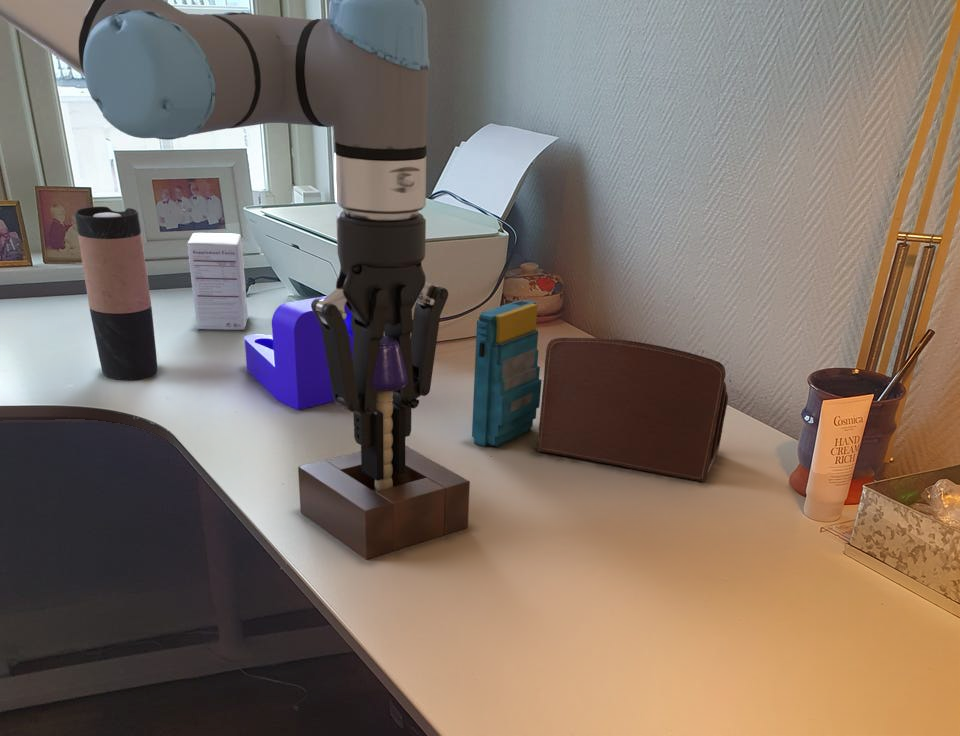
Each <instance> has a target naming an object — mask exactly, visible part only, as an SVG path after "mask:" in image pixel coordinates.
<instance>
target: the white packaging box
mask: <svg viewBox="0 0 960 736" xmlns="http://www.w3.org/2000/svg"><path fill="white" fill-rule="evenodd" d="M187 253H188V260H189V270H190V280H191V289H192V299H193V306H194V307H193V308H194V314H195V323H196V329H198V330H223V331H224V330H225V331H229V330H230V331H243V330H245V329H246V325H247V321H248V317H249V312H248V300H247V291H246V290H247V288H246V279H245V267H244V266H245V265H244V254H243V253H244V252H243V243H242V235H241V233H228V232H227V233H225V232H224V233H223V232H222V233H221V232H214V233H213V232H193V233H192V235H191V236H190V237H189V240H188V241H187Z"/></svg>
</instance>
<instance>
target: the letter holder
mask: <svg viewBox="0 0 960 736" xmlns="http://www.w3.org/2000/svg"><path fill="white" fill-rule="evenodd" d="M725 381H726V369H725V366H724V364H723V363H721V362H720V361H717V360H715V359H712V358H708V357H706V356H703V355H699V354H697V353H692V352H688V351H684V350H680V349H677V348H672V347H666V346H661V345H657V344H652V343H646V342H641V341H636V340H635V341H633V340H629V339H628V340H627V339H617V338H604V337H603V338H602V337H557V338H556V337H555V338H553V339H551V340H550V341H549V342H548V344H547V346H546V350H545V359H544V373H543V384H542V393H541V403H540V404H541V405H540V413H539V423H538V424H539V425H538V426H539V427H538V437H537V443H536V445H537V452H539V453H543V454H550V455H556V456H562V457H567V458H574V459H579V460H584V461H589V462H596V463H600V464H606V465H611V466H616V467H621V468H625V469H631V470H636V471H643V472H648V473H652V474H657V475H663V476H669V477H675V478H679V479H686V480H690V481H697V482H701V483H705V482H706V480H707V478H708V476H709V473H710V471H711V469H712V467H713V464H714V463H715V460H716V458H717V455H718V453H719V450H720V445H721V440H722V434H723V428H724V422H725V417H726V412H727V407H728V403H729V393H728V391H727V383H726V382H725Z"/></svg>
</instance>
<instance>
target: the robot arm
mask: <svg viewBox="0 0 960 736" xmlns="http://www.w3.org/2000/svg"><path fill="white" fill-rule="evenodd" d="M427 15H428V14H427V10H426V7H425V4H424V3H423V1H422V0H329V7H328V14H327V18H322V19H321V18H316V19H311V18H297V17H288V16H277V15H265V14H253V13H251V12H244V11H242V12H234V11H229V12H224V13H211V14H209V13H205V14H196V13H187V12H184V11H181V10H180V9H178V8H176V7H175V6H173V5H171V4H170V3H169V2H167V1H166V0H0V18H1V19H2V20H3V21H5V22H6V23H8V24H9V25H11V26H12V27H13V28H15V29H16V30H17V31H19V32H20V33H22V34H23V35H24V36H26V37H27V38H29V39H30V40H32V41H33V42H34V43H36V44H37V45H39V46H40V47H42V48H43V49H45V50H46V51H47V52H49V53H50V54H52V55H53V56H55V57H56V58H57V59H59V60H60V61H62V62H63V63H64V64H65V65H67V66H68V67H70V68H71V69H73V70H74V71H75V72H77V73H79V75H81V76H83V77H84V80H85V84H86V87H87V91H88V93H89V95H90V98H91V99H92V100H93V101H94V103H95V105H97V108H98V109H99V111H100V112H101V114H102V116H103V118H104V119H105V120H106V121H107V122H108V123H109V124H110V125H111V126H112V127H113V128H115V129H117V130H118V131H119V132H121V133H123V134H126V135H127V136H130V137H133V138H138V139H157V140H165V141H170V140H177V139H181V138H186V137H188V136H193V135H199V134H204V133H210V132H215V131H216V132H217V131H222V130H227V129H229V130H230V129H236V128H246V127H252V126H259V125H265V124H288V125H289V124H291V125H300V126H301V125H303V126H315V127H319V128H320V127H323V128H332V133H333V135H332V136H333V146H334V147H333V149H334V199H335V200H334V201H335V203H336V205H337V206H339V208H341V209H342V210H341V211H339V212H338V214H337V215H336V216H335V217H336V218H335V219H336V247H337V252H336V253H337V257H338V260H339V265H340V268H339V274H338V277H337V278H336V283H335V288H336V289H334V290H333V291H332V292H331V293H330V294H328V295H326V296H327V297H326V298H325V299H324V300H322V299H319V298H318V297H315V298H316V299H314V300H313V301H312V303H311V308H312V310H313V312H314V314H315V316H316V318H317V320H318V321H319V323H320V325H321V330H322V335H323V341H324V347H325V353H326V359H327V364H328V370H329V376H330V382H331V387H332V393H333V399H334V401H333V402H334V403H335V404H336V405H338V406H340V407H342V408H344V409H346V410H348V411H349V412H352V413H353V438H354V441H355V443H356V444H358V445H360V451H361V470H362V472H364V473H365V474H367V475H369V476H370V477H372V478H373V479H375V480H377V481H378V480H382V479H384V458H383V413H381V412H379V411H378V410H376V396H377V391H373V390H372V380H373V375H374V371H375V367H376V363H377V359H378V355H379V351H380V340H381V339H382V338H383V336H389V337H391V338H393V339H395V340H397V341H398V343H399V346H400V349H401V353H402V356H403V360H404V364H405V367H406V372H407V376H408V384H407V385H406V386H405V387H404V388H402V389H399V390H396V391H393V397H392V404H393V413H392V415H391V417H392V420H393V428H392V431H391V432H392V435H393V444H392V446H391V448H392V450H393V459H392V461H391V463H392V466H393V472H395V473H396V474H398V475H401V474H404V473H405V446H406V438H407V437H410V436H411V433H412V409H416V408H417V407H419V405H420V400H419V399H418V398H420V397H421V396H423V397H426V396H428V395H429V393H430V391H431V386H432V378H433V373H434V365H435V358H436V357H435V356H436V350H437V341H438V335H439V327H440V320H441V315H442V313H443V310H444V307H445V305H446V303H447V300H448V298H449V291H448V289H447V288H445V287H443V286H441V285H437V284H434V283H431V282H429V281H428V280H426V278H427V277H426V273H425V271H424V269H423V264H422V262H423V261H424V259H425V257H426V238H427V237H426V235H427V232H426V228H427V225H426V224H427V220H426V218H424V215H423V214H422V213H420V212H419V211H422V210H423V209H424V208H425V207H426V205H427V202H426V201H427V127H428V126H427V123H428V122H427V121H428V93H429V92H428V91H429V90H428V89H429V70H430V67H431V60H430V59H429V39H428V17H427ZM345 304H346V305H347V307H348V308H349V310H350V311H351V313H352V321H351V328H352V331H353V333H354V342H353V361H352V355H351V348H350V342H349V336H348V330H347V327H346V324H345V322H344V319H346V317H347V314H346V313H345ZM413 308H414V310H413Z"/></svg>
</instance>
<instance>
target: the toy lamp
mask: <svg viewBox="0 0 960 736" xmlns="http://www.w3.org/2000/svg"><path fill="white" fill-rule="evenodd" d="M407 384H408V376H407V372H406V367H405V364H404V360H403V356H402V353H401V349H400V346H399V343H398V341H397V340H395V339H393V338H391V337H389V336H385V335H384V336H383V338H382V339H381V340H380V351H379V355H378V359H377V363H376V367H375V371H374V375H373V380H372V390H373V391H377V396H376V410H378V411H379V412H381V413H383V458H384V479H382V480H378V481H377V480H375V490H373V491H374V492H376V491H380V490H383V489H387V488H391V487H393V481H392V478H391V476H392V473H393V466H392V463H391V461H392V459H393V450H392V448H391V446H392V444H393V435H392V432H391V431H392V428H393V420H392V417H391V415H392V413H393V404H392V402H393V399H392V397H393V391H396V390H399V389H402V388H404V387H405V386H406V385H407Z"/></svg>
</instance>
